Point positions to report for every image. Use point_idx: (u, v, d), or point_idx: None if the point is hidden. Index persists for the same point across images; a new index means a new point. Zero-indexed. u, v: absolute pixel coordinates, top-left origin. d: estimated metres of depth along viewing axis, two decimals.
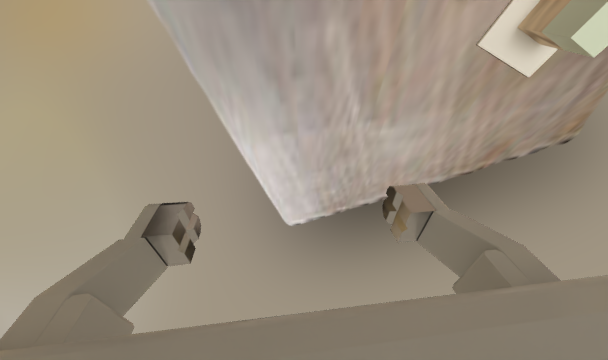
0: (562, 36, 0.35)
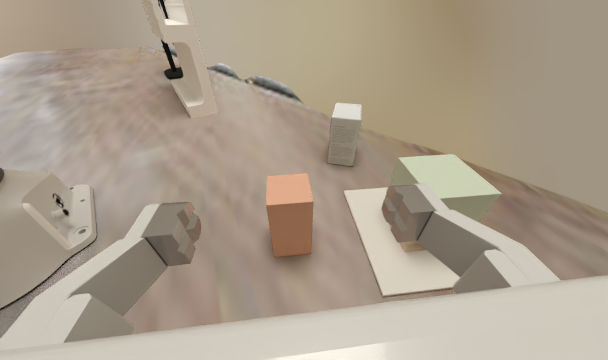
0: None
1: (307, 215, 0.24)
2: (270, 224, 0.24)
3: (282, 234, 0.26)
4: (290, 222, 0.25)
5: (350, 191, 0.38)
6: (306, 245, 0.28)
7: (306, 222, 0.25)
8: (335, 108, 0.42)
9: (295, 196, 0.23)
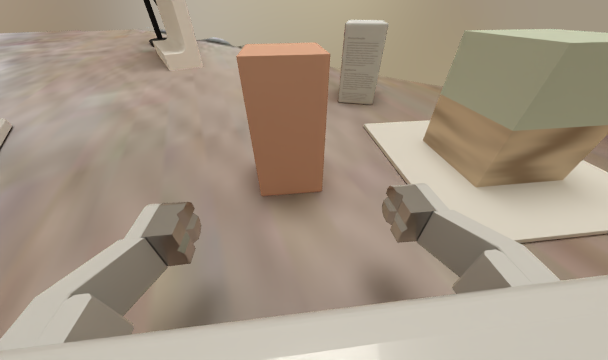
0: (554, 73, 0.12)
1: (317, 94, 0.13)
2: (249, 114, 0.13)
3: (271, 142, 0.14)
4: (286, 111, 0.13)
5: (373, 124, 0.27)
6: (314, 172, 0.17)
7: (315, 114, 0.14)
8: None
9: (295, 52, 0.12)
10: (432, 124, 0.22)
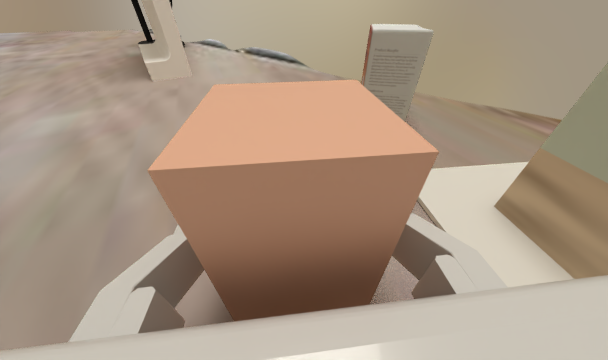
0: None
1: (381, 228, 0.05)
2: (210, 270, 0.05)
3: (266, 298, 0.07)
4: (302, 258, 0.06)
5: None
6: None
7: (366, 258, 0.06)
8: (374, 25, 0.23)
9: (328, 133, 0.04)
10: (517, 190, 0.14)
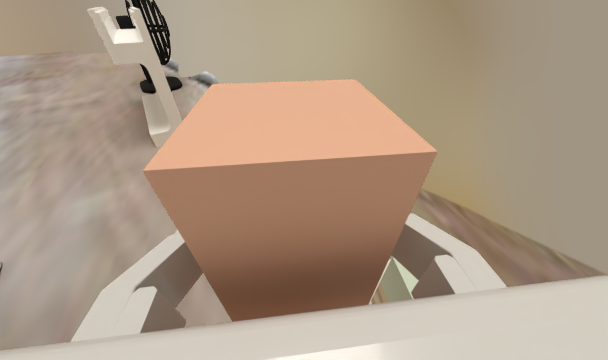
0: None
1: (379, 228, 0.05)
2: (208, 270, 0.05)
3: (264, 298, 0.07)
4: (300, 259, 0.06)
5: None
6: None
7: (365, 258, 0.06)
8: None
9: (325, 132, 0.04)
10: (376, 297, 0.25)
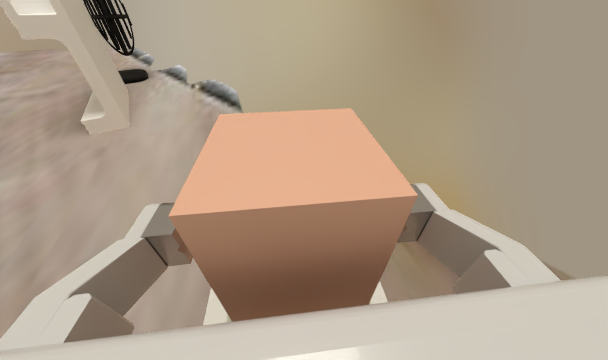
0: None
1: (371, 254, 0.06)
2: (218, 290, 0.06)
3: (268, 312, 0.07)
4: (300, 279, 0.06)
5: None
6: None
7: (359, 277, 0.07)
8: None
9: (323, 174, 0.05)
10: None
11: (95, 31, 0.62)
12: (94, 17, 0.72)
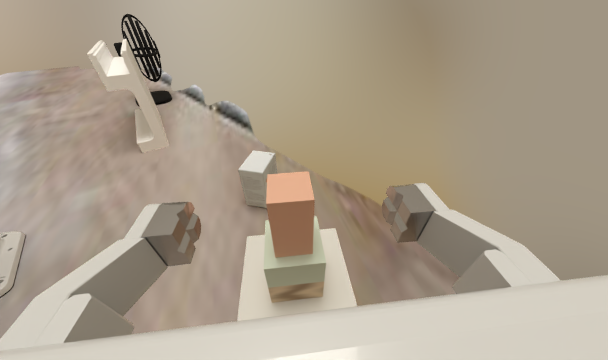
0: (266, 274, 0.28)
1: (308, 213, 0.23)
2: (270, 223, 0.24)
3: (282, 233, 0.25)
4: (291, 221, 0.24)
5: (253, 237, 0.43)
6: (307, 245, 0.27)
7: (307, 221, 0.24)
8: (248, 158, 0.47)
9: (296, 195, 0.23)
10: None
11: (139, 70, 0.80)
12: (134, 55, 0.91)
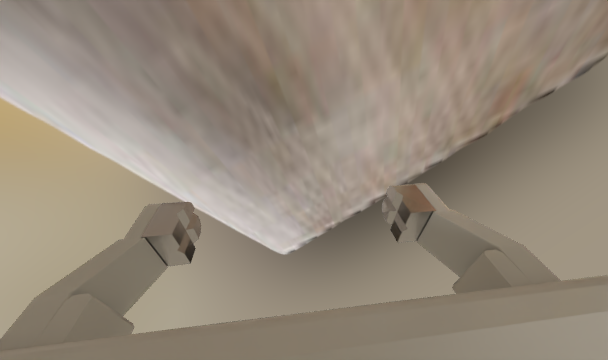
0: None
1: None
2: None
3: None
4: None
5: None
6: None
7: None
8: None
9: None
10: None
11: None
12: None
